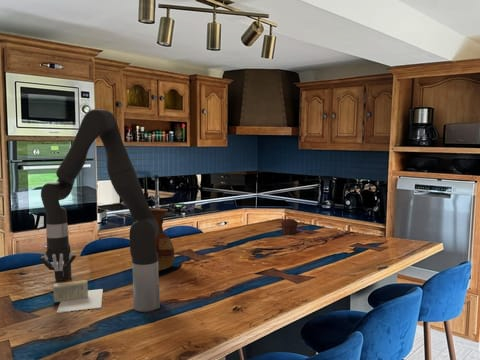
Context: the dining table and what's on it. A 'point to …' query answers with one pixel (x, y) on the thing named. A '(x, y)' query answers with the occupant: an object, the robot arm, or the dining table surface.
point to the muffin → (289, 226)
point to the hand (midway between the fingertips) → (59, 279)
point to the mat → (82, 302)
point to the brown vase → (163, 242)
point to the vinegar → (66, 270)
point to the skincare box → (70, 290)
